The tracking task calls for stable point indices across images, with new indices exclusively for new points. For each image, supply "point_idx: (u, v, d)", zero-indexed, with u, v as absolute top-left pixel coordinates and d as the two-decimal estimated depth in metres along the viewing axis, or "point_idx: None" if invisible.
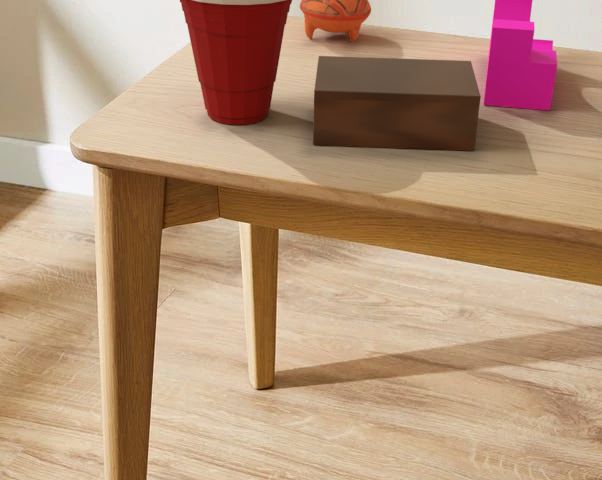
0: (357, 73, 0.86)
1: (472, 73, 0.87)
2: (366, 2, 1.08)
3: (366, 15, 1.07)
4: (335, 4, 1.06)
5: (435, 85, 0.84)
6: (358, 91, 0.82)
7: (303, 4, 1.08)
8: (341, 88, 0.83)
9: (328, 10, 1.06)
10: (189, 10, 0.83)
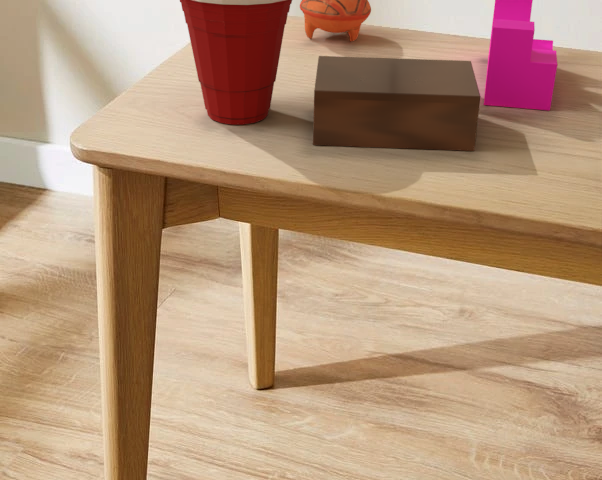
0: (357, 73, 0.86)
1: (472, 73, 0.87)
2: (366, 2, 1.08)
3: (366, 15, 1.07)
4: (335, 4, 1.06)
5: (435, 85, 0.84)
6: (358, 91, 0.82)
7: (303, 4, 1.08)
8: (341, 88, 0.83)
9: (328, 10, 1.06)
10: (189, 10, 0.83)
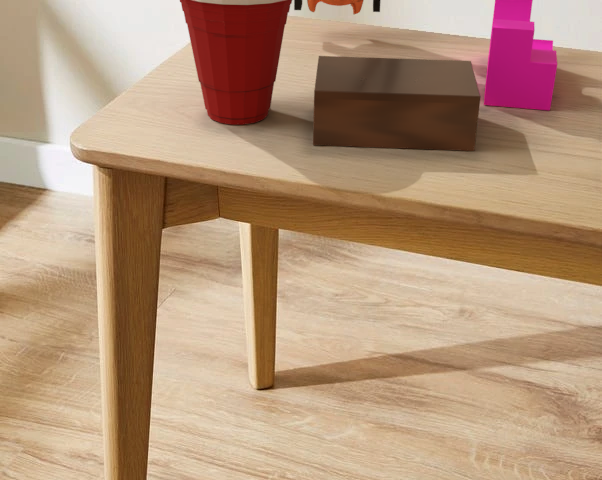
0: (357, 73, 0.86)
1: (472, 73, 0.87)
2: None
3: None
4: None
5: (435, 85, 0.84)
6: (358, 91, 0.82)
7: None
8: (341, 88, 0.83)
9: None
10: (189, 10, 0.83)
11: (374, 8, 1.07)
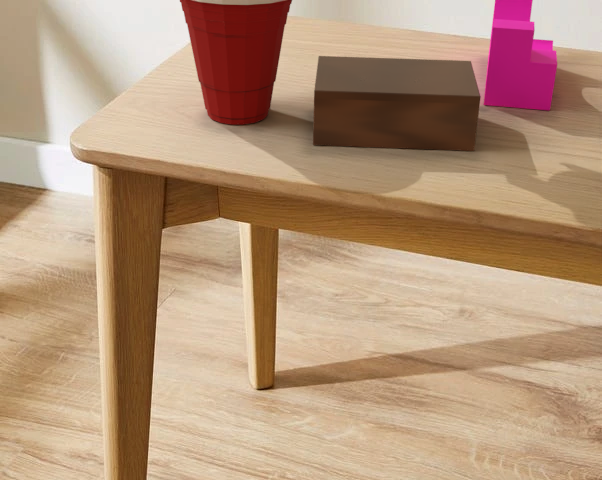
0: (357, 73, 0.86)
1: (472, 73, 0.87)
2: None
3: None
4: None
5: (435, 85, 0.84)
6: (358, 91, 0.82)
7: None
8: (341, 88, 0.83)
9: None
10: (189, 10, 0.83)
11: None
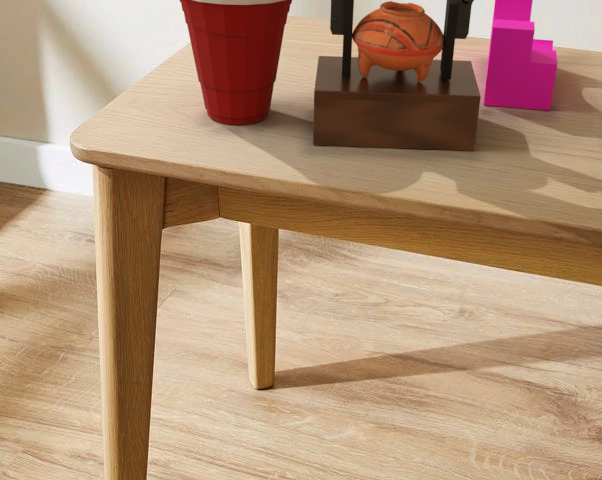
0: (357, 73, 0.86)
1: (472, 73, 0.87)
2: (439, 31, 0.83)
3: (439, 48, 0.83)
4: (401, 35, 0.81)
5: (435, 85, 0.84)
6: (358, 91, 0.82)
7: (358, 35, 0.83)
8: (341, 88, 0.83)
9: (392, 43, 0.81)
10: (189, 10, 0.83)
11: (444, 75, 0.84)
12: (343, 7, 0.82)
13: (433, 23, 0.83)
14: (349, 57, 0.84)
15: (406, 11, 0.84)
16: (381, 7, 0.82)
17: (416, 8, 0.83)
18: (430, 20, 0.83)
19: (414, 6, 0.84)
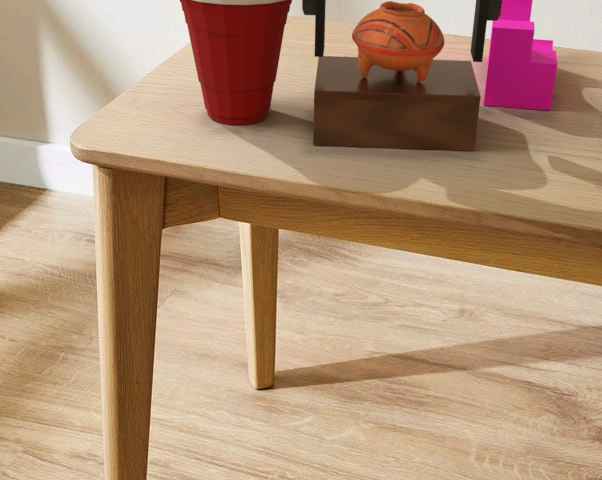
0: (357, 73, 0.86)
1: (472, 73, 0.87)
2: (439, 31, 0.83)
3: (439, 48, 0.83)
4: (401, 35, 0.81)
5: (435, 85, 0.84)
6: (358, 91, 0.82)
7: (358, 34, 0.83)
8: (341, 88, 0.83)
9: (391, 43, 0.81)
10: (189, 10, 0.83)
11: (475, 57, 0.83)
12: None
13: (433, 23, 0.83)
14: (322, 38, 0.83)
15: (406, 11, 0.84)
16: (381, 7, 0.82)
17: (416, 8, 0.83)
18: (430, 20, 0.83)
19: (414, 6, 0.84)
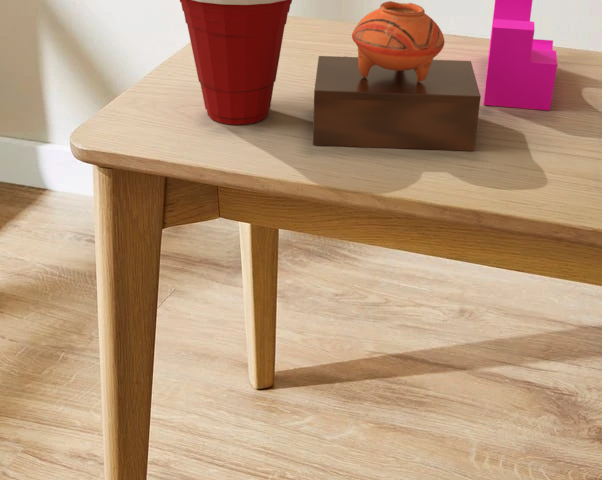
0: (357, 73, 0.86)
1: (472, 73, 0.87)
2: (439, 31, 0.83)
3: (439, 48, 0.83)
4: (401, 35, 0.81)
5: (435, 85, 0.84)
6: (358, 91, 0.82)
7: (358, 34, 0.83)
8: (341, 88, 0.83)
9: (391, 43, 0.81)
10: (189, 10, 0.83)
11: None
12: None
13: (433, 23, 0.83)
14: None
15: (406, 11, 0.84)
16: (381, 7, 0.82)
17: (416, 8, 0.83)
18: (430, 20, 0.83)
19: (414, 6, 0.84)
